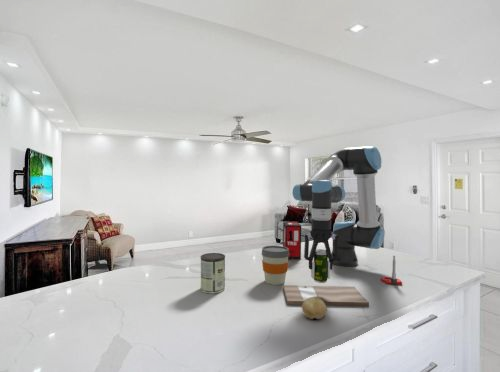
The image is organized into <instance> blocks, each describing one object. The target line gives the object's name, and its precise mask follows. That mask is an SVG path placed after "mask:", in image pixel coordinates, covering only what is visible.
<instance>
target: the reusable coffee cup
mask: <svg viewBox="0 0 500 372" xmlns="http://www.w3.org/2000/svg"><path fill="white" fill-rule="evenodd" d="M261 256H262V260H261V262H262V271H263V273H264V282H265V283H266V284H269V285H274V286H279V285H284V284H285V282H286V278H287V272H288V269H289V268H288V267H289V259H288V256H289V249H288V248H287V247H283V245H267V246H264V247H262V249H261Z"/></svg>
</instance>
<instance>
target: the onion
mask: <svg viewBox="0 0 500 372" xmlns="http://www.w3.org/2000/svg"><path fill="white" fill-rule="evenodd" d="M301 310H302V312H303V314H304V316H305V317H306V318H308V319H310V320H313V321H314V320H315V319H316V320H321V319H322V318H323V317H325V315H326V313H327V306H326V305H325V303H324V302H323V301H322V300H321V297H318V294H317V297H310V298H307V299H306V300H305V301H304V302H303V304H302V305H301Z"/></svg>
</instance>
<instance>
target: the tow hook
mask: <svg viewBox="0 0 500 372" xmlns="http://www.w3.org/2000/svg"><path fill="white" fill-rule="evenodd" d="M396 262H397V261H396V255H392V273H391V276H382V277H380V280H381V281H382V282H384V283H385V284H386V285H394V286H396V285H399V286H402V285H403V282H402V280H401V279H400V278H398V277H397V272H396V265H397V264H396Z"/></svg>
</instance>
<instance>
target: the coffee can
mask: <svg viewBox="0 0 500 372" xmlns="http://www.w3.org/2000/svg"><path fill="white" fill-rule="evenodd" d="M225 260H226V255H225V254H223V253H219V252H209V253H204V254H202V255H201V256H200V291H201V292H202V293H205V294H219V293H222V292H223V291H225V289H226V287H225V286H226V283H225V282H226V281H225V280H226V269H225V267H226V261H225Z"/></svg>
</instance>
